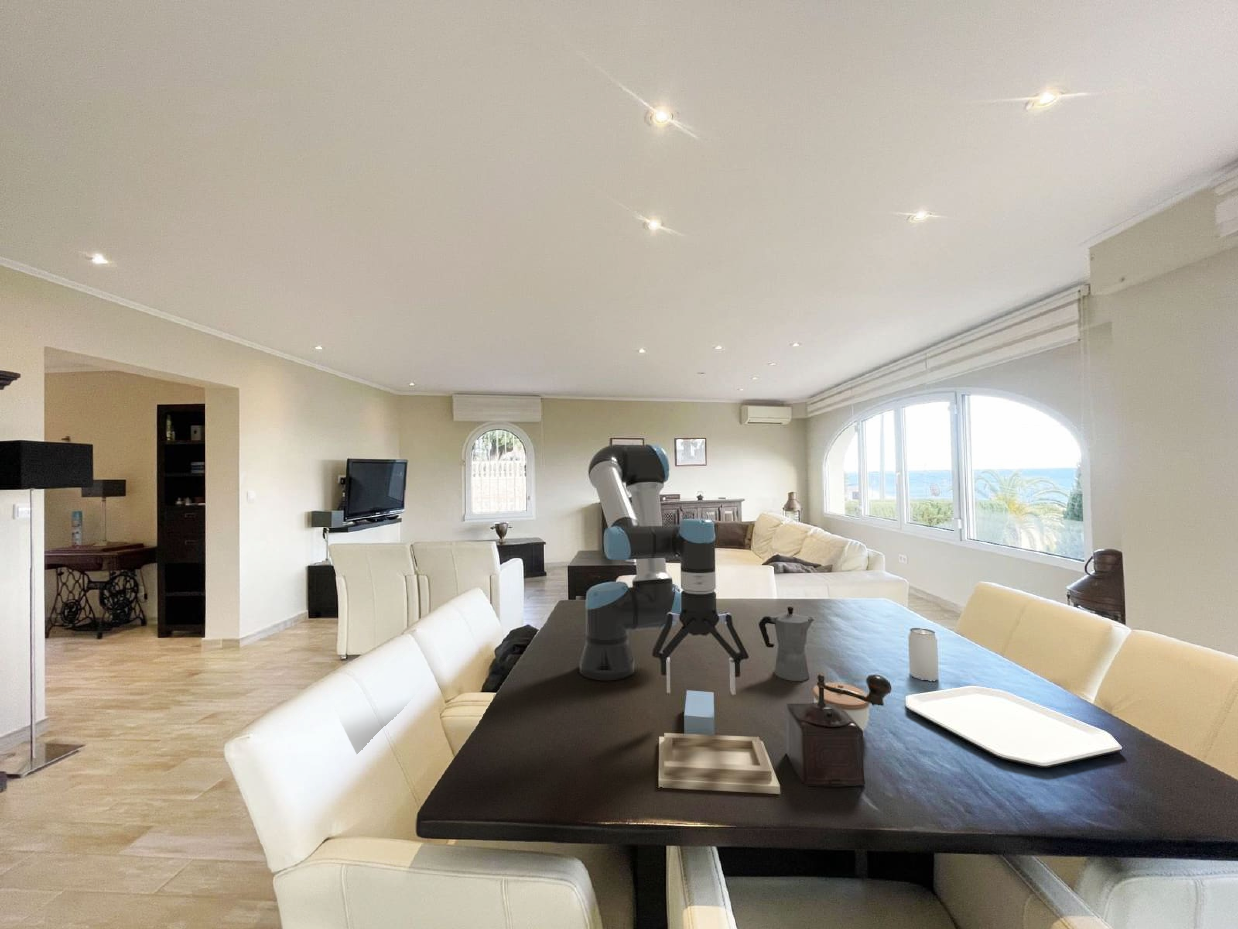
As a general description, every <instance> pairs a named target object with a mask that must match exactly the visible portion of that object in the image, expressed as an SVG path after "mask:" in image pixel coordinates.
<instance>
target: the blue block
mask: <svg viewBox="0 0 1238 929" xmlns="http://www.w3.org/2000/svg"><path fill="white" fill-rule="evenodd" d="M683 718H684V719H683V721H684V722H683V727H684V731H683V732H684V733H683V734H698V735H715V695H714V691H713V692H712V691H702V690H700V691H699V690H689V689H688V690H686V696H685V704H684V714H683Z"/></svg>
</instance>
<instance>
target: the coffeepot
mask: <svg viewBox="0 0 1238 929" xmlns="http://www.w3.org/2000/svg"><path fill="white" fill-rule="evenodd" d="M786 609H787V612H788V613H787V612H785V613H778V614H774V615H771V616H766V615H765V616H763V617H762V618H761V619H760V621H759V622H758V628H759V630H760V633H761V636H762V639H763V642H764V644H765V647H766V648H769V649H771V648H774V647H775V644H774V643H770V636H769V634H768V629H767V627H766V625H768V624H769V625H774V628H775V634H776V641H777V642H776V643H777V646H778V647H777V652H776V653H777V654H776V658H775V665H774V675H775V676H777V677H778V678H780V679H783V680H786V681H790V682H803V681H807V680H808V679H809V678H810V674H809V668H808V662H807V657H806V652H805V646H806V644H807V636H808V630H809V628H810V626H811V625H812V623H813V622H814V621H815V619H814V618H813V617H810V616H807V615H806V616H805V615H800V614H796V613H793V612H794V607H792V606H788V607H786Z"/></svg>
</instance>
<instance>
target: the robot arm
mask: <svg viewBox="0 0 1238 929" xmlns="http://www.w3.org/2000/svg"><path fill="white" fill-rule="evenodd" d="M668 458H669V457H668V456H667V453H666V451H665V450H664V449H663V448H662V447H661V446H660V445H653V444H649V443H647V444H618V443H617V444H611V445H608V446H605V447H604V446H603V447H602V448H601V449H600V450H598V451H597V452H596V453H595V454H594V456H592V458H591V461H590V463H589V466H588V471H587V472H588V474H587V475H588V478H589V482H590V484H591V485H592V487H593V488H595V489H596V492H597V493H596V494H597V495H598V496H597V497H598V500H599V502H600V506H601V508H602V511H603V515H604V518H605V521H606V525H607V528H606V529H605V530H604V533H603V549H604V555H605V556H606V559H609V560H621V561H627V560H628V561H629V560H630V561H631V560H635V564H636V566H635V568H636V575H635V577H634V578H633V579H632V580H631V584H632V585H631V586H630V587H629V585H628V583H626V582H625V581H608V582H602V583H598V584H595V585H593V586H591V587H590V588H589V589H588V590H587V591H586V594H585V595H586V596H585V605H584V607H585V644H584V646H583V647H584V648H583V651H582V655H581V658H580V661H579V673H580V674H581V675H582V676H583V677H585V678H587V679H592V680H596V681H604V682H605V681H617V680H621V679H625V678H627V677H630V676H631V675H633V674H634V672H635V659H634V657H633V653H632V650H631V648H630V644H629V638H628V637H629V634H628V633H629V631H639V630H641V631H643V630H653V629H654V630H655V629H659V630H660V629H662V630H661V632H660V634H659V636H658V638H657V640H656V642H655V645H654V647H653V648H652V655H651V656H652V657H653V658H657V659H659V660H660V674H661V676H666V693H667V694H671V657H670V655H671V654H672V653H673V652H674V651H675V649H676V648H677V647H678V646H679V645H680V643H681V642H682V641H683V640H684V639H685V638H686V637H687V636H688V635H689V634H690V635H691V636H698V635H701V636H703V637H704V636H705V637H706V636H708V635H710V634H711V636H713V638H715V639H716V640H717V642H718V643H719V644H720V645H721V647H722V648H723V649H724V650H725V652H726V653H727V654H728V655H729V656H730V657H731V658H728V660H729V690H730V693H731V695H732V696H733V695H736V678H740V676H741V662H742V660H748V659H749V653H748V652H747V650H746V647H745V646H744V644H743V642H742V640H741V638H740V637H739V634H738V633H737V630H736V628H735V627H734V623H733V617H732V615H731V612H728V611H726V612H724V613H722V614H721V613H719V614H718V611H717V593H716V592H715V590H716V588H717V583H716V580H717V579H716V533H715V532H716V531H715V524H714V521H713V520H712V519H710V518H684V519H683V518H682V520H680V524H675V523H674V524H670V525H663V520H662V519H663V518H662V506H661V495H660V492H661V491H662V490H663V488H664V486H665V483H666V482H667V481H668V480H669V477H670V462H669V459H668ZM624 483H625V485H624ZM627 492H628V493H629V494H630V496H631V500H630V497H629V495H628V493H627ZM671 558H675V559H676V558H679V559H680V587H681V589H682V591H681V589H680V587H679V586H678V585H677V584H676V583H673V577H672V576H670V575H669V574H668V572H667V564H666V559H671ZM678 621H679V622H680V624H682V626H681V628H679V631H678V632H677V633H676V634H675V636H673V638H672V639H671V640H670V641H669V642H668V643H667V645H666V646H665V647H664V649H662V648H663V645H664V644H665V642H666V640H667V638H668V635H669V633H670V631H671V628H672V627H673V626H675V625H676V624H677V623H678ZM719 621H721V622H722V624H723V625H725V626H727V629H728V631H729V633H730V635H731V637H732V639H733V641H734V643H735V644H736V647H737V648H738V650H739V652H737V651H736V650H735V649H734V648H733V647H732V646H731V644H730V643H729V641H727V639H726V638H725V637H724V636H723V635H722V634H721V633H720V631H719V630H718V629H717V627H716V626H717V625H718V624H719Z"/></svg>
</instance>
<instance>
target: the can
mask: <svg viewBox="0 0 1238 929" xmlns="http://www.w3.org/2000/svg"><path fill="white" fill-rule="evenodd" d="M907 637H908V664H909V665H908V667H909V669H908V670H909V674H910V676H911V675H912V676H913V677H912V676H911V677H912V678H914V677H915V679H916V678H919V679H923V680H936V681H938V679H939V654H938V653H939V651H938V650H939V648H938V638H937V636H936V632H935V631H934V630H932V629H928V628H923V627H911V628H910V629H909V633H908V636H907ZM919 679H918V680H919ZM923 680H922V681H923Z"/></svg>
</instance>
